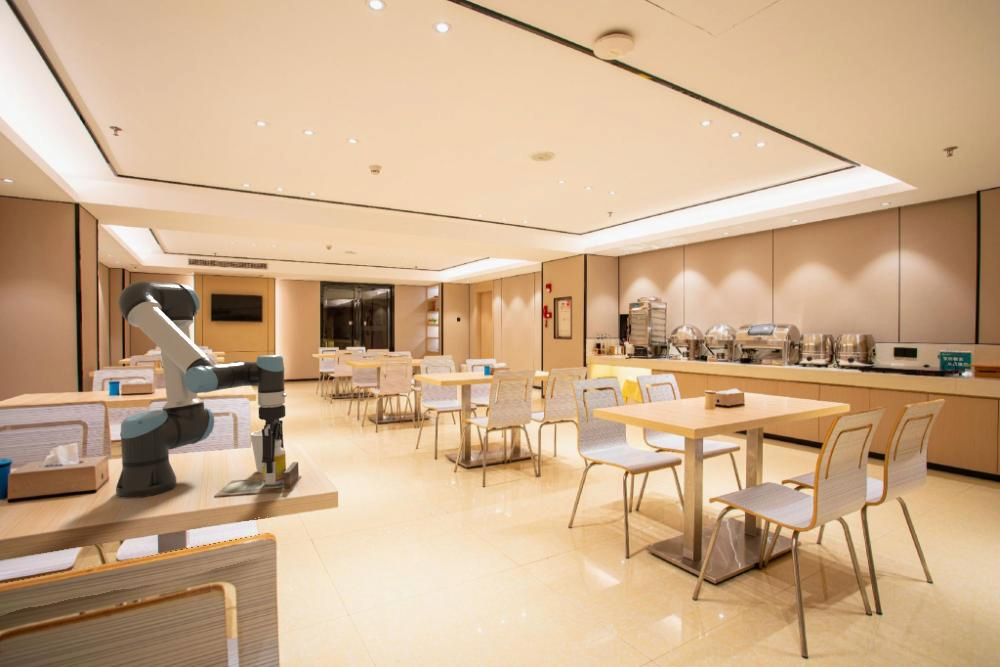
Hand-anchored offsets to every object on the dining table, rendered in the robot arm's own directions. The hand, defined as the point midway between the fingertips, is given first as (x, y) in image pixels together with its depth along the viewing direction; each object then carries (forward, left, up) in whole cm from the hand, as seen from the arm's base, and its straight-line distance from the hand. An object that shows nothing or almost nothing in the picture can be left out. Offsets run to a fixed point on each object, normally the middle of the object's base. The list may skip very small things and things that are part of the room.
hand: (274, 479), depth 153 cm
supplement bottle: (0, 0, -1) cm, 1 cm away
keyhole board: (-4, 0, -2) cm, 5 cm away
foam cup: (-7, +18, -2) cm, 20 cm away
